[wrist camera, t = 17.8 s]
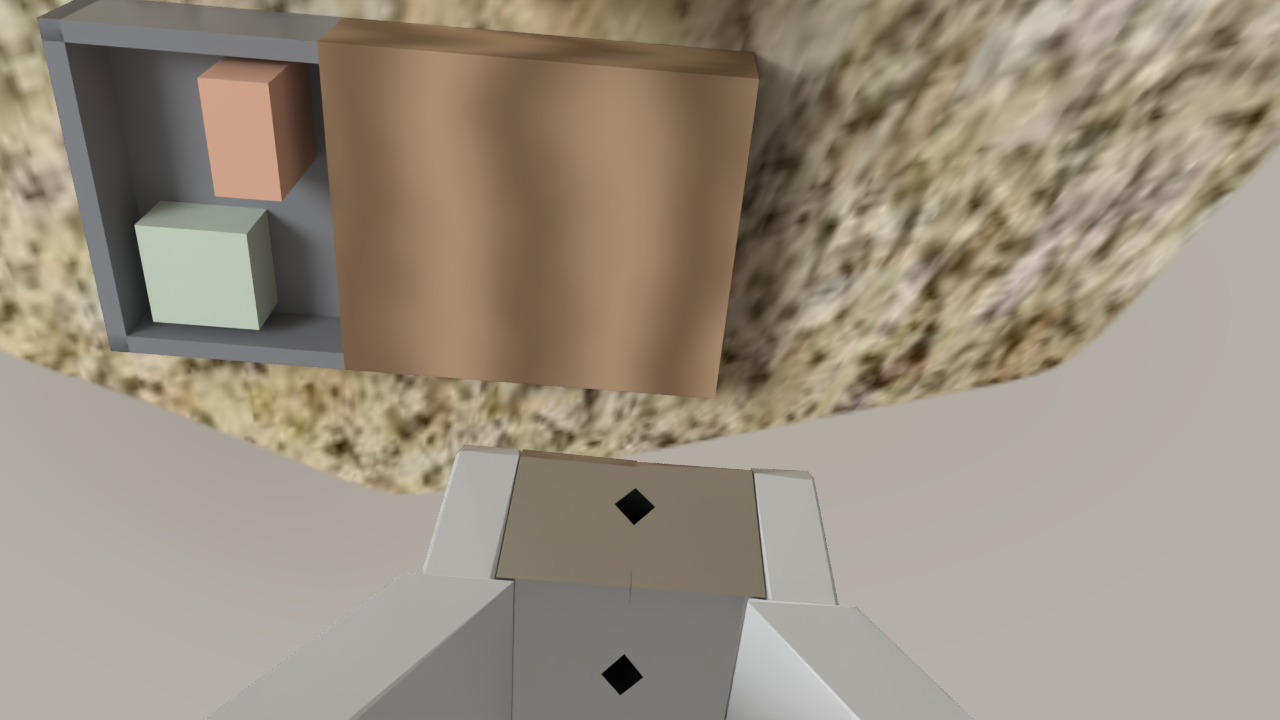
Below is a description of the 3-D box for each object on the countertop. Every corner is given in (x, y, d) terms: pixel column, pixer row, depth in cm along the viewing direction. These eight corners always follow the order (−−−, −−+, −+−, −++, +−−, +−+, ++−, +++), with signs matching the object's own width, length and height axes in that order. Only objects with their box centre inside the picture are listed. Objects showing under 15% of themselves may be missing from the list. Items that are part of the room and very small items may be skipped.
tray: (343, 17, 41) (317, 41, 38) (365, 328, 48) (344, 369, 45) (83, -5, 40) (37, 17, 37) (145, 311, 48) (110, 350, 45)
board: (752, 52, 41) (759, 79, 38) (712, 356, 48) (714, 398, 45) (343, 17, 41) (317, 41, 38) (365, 328, 48) (344, 369, 45)
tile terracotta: (268, 83, 37) (197, 77, 37) (281, 201, 39) (215, 196, 39) (306, 48, 41) (241, 43, 41) (316, 158, 43) (255, 153, 43)
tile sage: (134, 225, 42) (160, 200, 44) (153, 321, 45) (176, 294, 47) (246, 234, 42) (266, 209, 44) (259, 330, 45) (278, 302, 47)
